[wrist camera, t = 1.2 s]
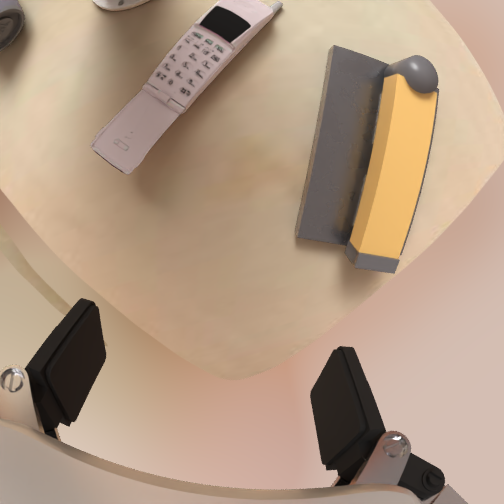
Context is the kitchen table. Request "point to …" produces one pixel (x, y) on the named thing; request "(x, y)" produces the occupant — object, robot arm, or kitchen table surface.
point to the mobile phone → (180, 79)
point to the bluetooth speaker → (10, 21)
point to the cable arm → (395, 165)
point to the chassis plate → (343, 147)
